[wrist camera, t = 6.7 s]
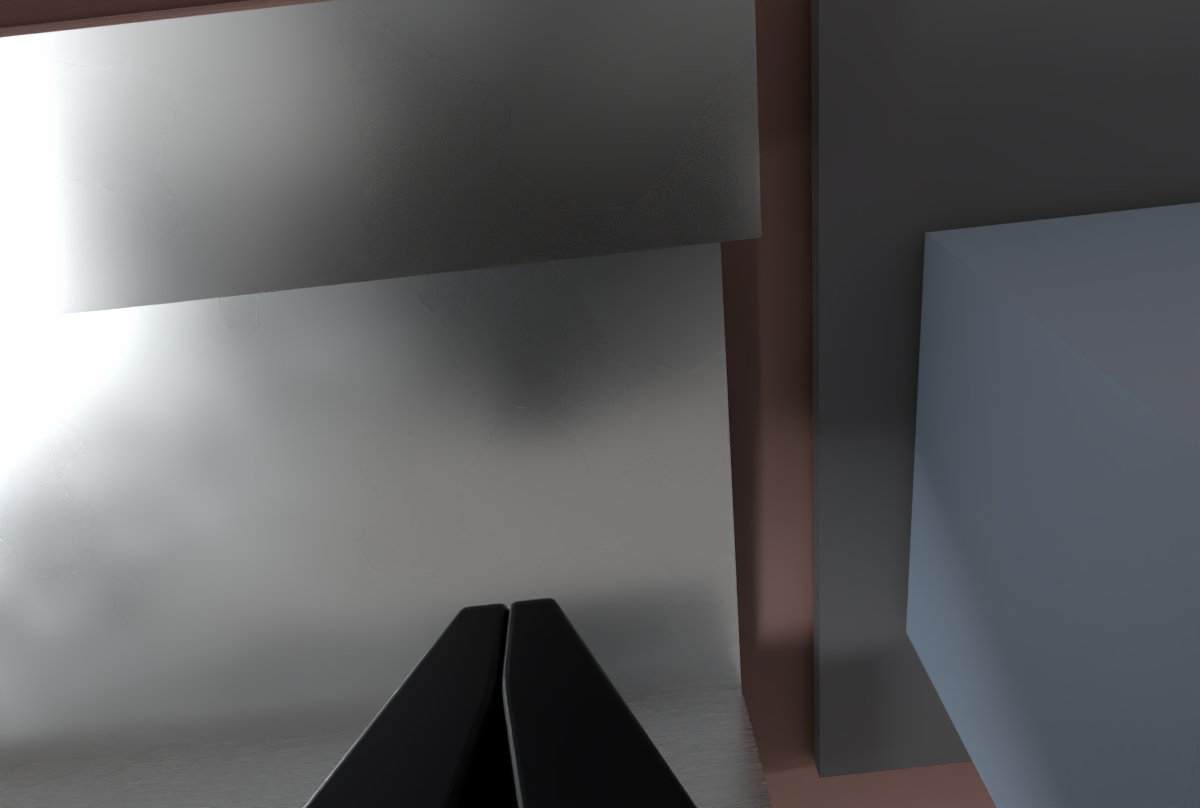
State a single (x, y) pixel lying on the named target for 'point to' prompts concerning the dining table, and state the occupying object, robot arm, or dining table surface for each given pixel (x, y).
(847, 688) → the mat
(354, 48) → the chute
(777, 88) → the dining table surface
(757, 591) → the dining table surface
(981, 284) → the block
